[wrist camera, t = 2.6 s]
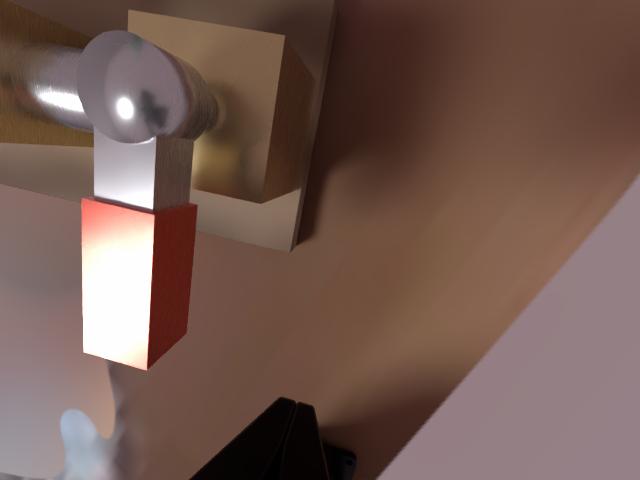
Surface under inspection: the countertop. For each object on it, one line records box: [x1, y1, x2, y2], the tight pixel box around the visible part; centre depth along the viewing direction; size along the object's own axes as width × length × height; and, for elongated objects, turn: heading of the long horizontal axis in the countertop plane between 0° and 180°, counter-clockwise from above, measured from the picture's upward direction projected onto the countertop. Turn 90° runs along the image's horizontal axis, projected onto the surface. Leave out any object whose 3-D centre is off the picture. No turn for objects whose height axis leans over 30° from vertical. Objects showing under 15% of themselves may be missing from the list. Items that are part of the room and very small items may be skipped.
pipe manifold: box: [0, 0, 316, 204], centre depth 13 cm, size 6×23×10 cm, turn 79°
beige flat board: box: [0, 0, 338, 253], centre depth 18 cm, size 13×22×2 cm, turn 79°
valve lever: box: [76, 30, 211, 370], centre depth 10 cm, size 9×3×2 cm, turn 169°
